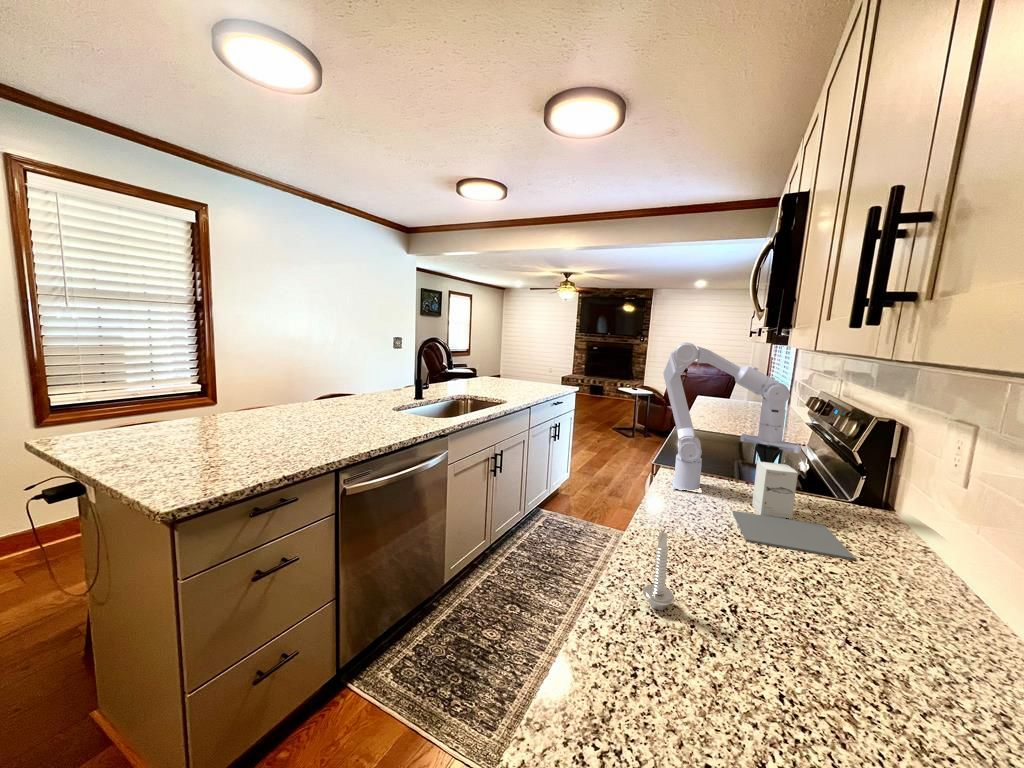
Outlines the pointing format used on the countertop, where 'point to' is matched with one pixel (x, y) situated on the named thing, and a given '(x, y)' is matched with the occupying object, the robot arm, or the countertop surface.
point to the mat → (790, 534)
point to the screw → (659, 578)
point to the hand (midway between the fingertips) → (766, 471)
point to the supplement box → (774, 489)
